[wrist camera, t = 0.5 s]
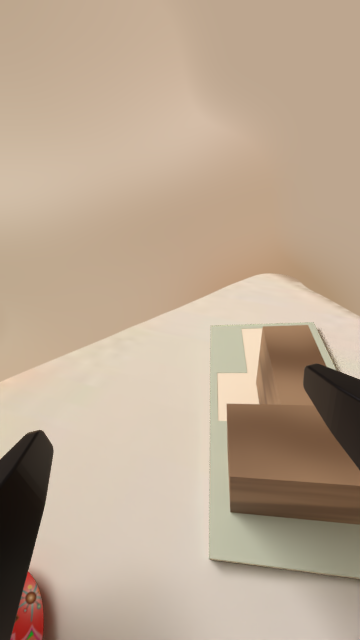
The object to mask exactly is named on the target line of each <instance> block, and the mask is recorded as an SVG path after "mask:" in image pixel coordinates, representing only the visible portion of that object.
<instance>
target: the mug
mask: <svg viewBox="0 0 360 640" xmlns="http://www.w3.org/2000/svg"><path fill="white" fill-rule="evenodd" d="M43 623H44V618H43V604H42V599H41V594H40V591H39V588H38V586H37V583H36V581H35V580H34V578H33V577H32V576H31V574H30V573H29V572H28V573H27V577H26V581H25V585H24V589H23V593H22V596H21V600H20V604H19V608H18V612H17V616H16V620H15V624H14V628H13V632H12V635H11V639H10V640H42V638H43Z"/></svg>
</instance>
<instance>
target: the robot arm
mask: <svg viewBox="0 0 360 640" xmlns="http://www.w3.org/2000/svg"><path fill="white" fill-rule="evenodd" d="M303 387H304V389H305V391H306V393H307V395H308V396H309V398H310V399H311V401H312V403H313V404H314V406H315V408H316V409H317V411H318V412H319V414H320V416H321V417H322V419H323V421H324V422H325V424H326V425H327V427H328V428H329V430H330V431H331V433H332V434H333V436H334V437H335V438H336V440H337V441H338V442H339V444H340V445H341V446H342V448H343V449H344V450H345V452H346V453H347V454H348V456H349V457H350V458H351V460H352V461H353V462H354V464H355V465H356V466H357V467H358V469H359V470H360V379H357V378H354V377H352V376H349V375H347V374H344V373H342V372H339V371H337V370H334V369H331V368H329V367H326V366H324V365H321V364H318V363H315V364H311V365H307V366H305V368H304V377H303ZM52 459H53V446H52V444H51V442H50V441H49V439H48V438H47V436H46V435H45V433H44V432H43V431H42V430H37V431H33V432H29V433H27V434H26V435H25V436H24V437H23V438H22V439H21V440H20V441H19V442H18V443H17V444H16V445H15V446H14V447H13V448H12V449H11V450H10V451H9V452H7V453H6V454H5V455H4V456H3V457H2V458H1V459H0V640H10V639H11V635H12V632H13V628H14V624H15V620H16V616H17V612H18V608H19V604H20V600H21V596H22V593H23V589H24V585H25V581H26V577H27V573H28V569H29V565H30V561H31V558H32V554H33V550H34V546H35V542H36V538H37V534H38V530H39V526H40V522H41V519H42V515H43V511H44V506H45V501H46V496H47V490H48V484H49V477H50V471H51V465H52Z"/></svg>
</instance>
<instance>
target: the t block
mask: <svg viewBox="0 0 360 640" xmlns="http://www.w3.org/2000/svg"><path fill="white" fill-rule="evenodd" d="M315 363H318V364H321V365H324V366H326V364H325V362H324V360H323V357H322V355H321V353H320V351H319V348H318V346H317V344H316V342H315V339H314V337H313V335H312V333H311V330H310V328H309V326H308V325H293V326H263V328H262V336H261V344H260V353H259V361H258V369H257V378H256V386H257V392H258V398H259V404H227V451H228V474H229V496H230V512H232V513H242V514H253V515H263V516H274V517H284V518H295V519H305V520H316V521H326V522H336V523H347V524H357V525H360V470H359V469H358V467H357V466H356V465H355V464H354V462H353V461H352V460H351V458H350V457H349V456H348V454H347V453H346V452H345V450H344V449H343V448H342V446H341V445H340V444H339V442H338V441H337V440H336V438H335V437H334V436H333V434H332V433H331V431H330V430H329V428H328V427H327V425H326V424H325V422H324V421H323V419H322V417H321V416H320V414H319V412H318V411H317V409H316V408H315V406H314V404H313V403H312V401H311V399H310V398H309V396H308V395H307V393H306V391H305V389H304V387H303V377H304V368H305V366H307V365H311V364H315ZM326 367H327V366H326Z"/></svg>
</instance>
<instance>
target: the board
mask: <svg viewBox="0 0 360 640" xmlns="http://www.w3.org/2000/svg"><path fill="white" fill-rule="evenodd" d="M293 325H308V326H309V328H310V330H311V333H312V335H313V337H314V339H315V342H316V344H317V346H318V348H319V351H320V353H321V355H322V357H323V360H324V362H325V364H326V366H327V367H329V368H331V369H334V370H336V368H335V366H334V364H333V362H332V360H331V358H330V356H329V354H328V351H327V349H326V347H325V345H324V343H323V341H322V339H321V337H320V335H319V333H318V331H317V328H316V326H315V324H314V322H306V323H276V324H246V325H216V326H211V338H210V481H209V559H210V560H216V561H224V562H232V563H240V564H247V565H255V566H263V567H270V568H278V569H286V570H293V571H301V572H309V573H316V574H324V575H332V576H340V577H347V578H355V579H360V525H357V524H347V523H336V522H326V521H316V520H305V519H295V518H284V517H274V516H263V515H253V514H242V513H232V512H230V496H229V474H228V451H227V404H259V398H258V392H257V386H256V378H257V369H258V361H259V353H260V344H261V336H262V328H263V326H293Z"/></svg>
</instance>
